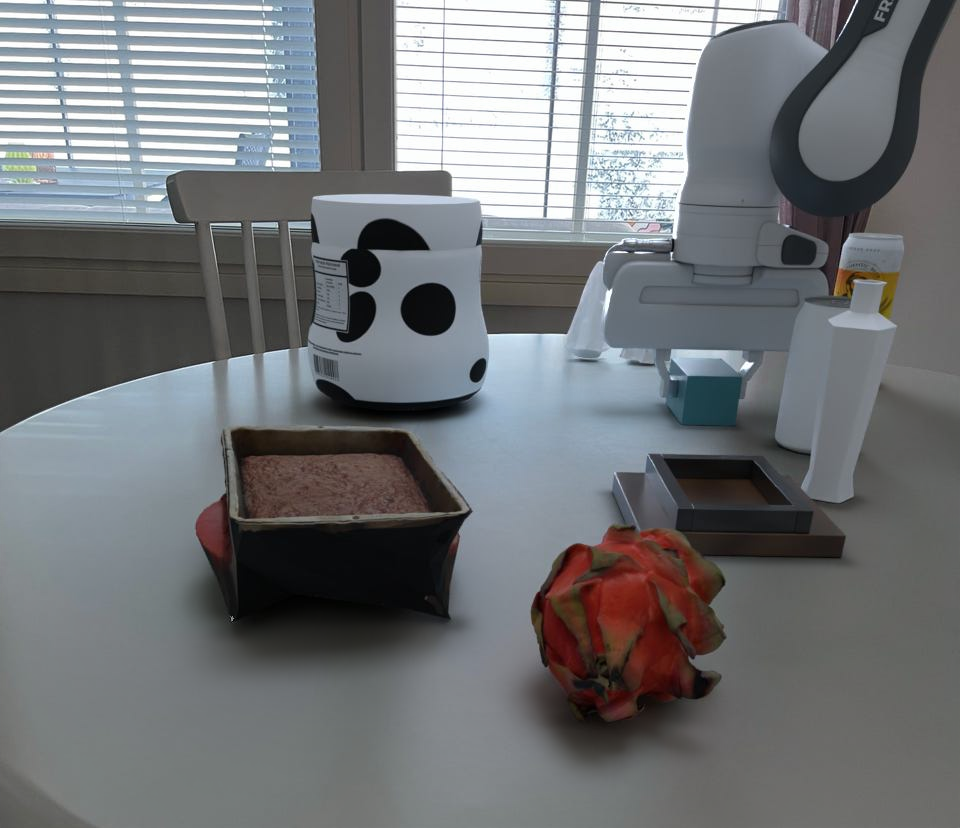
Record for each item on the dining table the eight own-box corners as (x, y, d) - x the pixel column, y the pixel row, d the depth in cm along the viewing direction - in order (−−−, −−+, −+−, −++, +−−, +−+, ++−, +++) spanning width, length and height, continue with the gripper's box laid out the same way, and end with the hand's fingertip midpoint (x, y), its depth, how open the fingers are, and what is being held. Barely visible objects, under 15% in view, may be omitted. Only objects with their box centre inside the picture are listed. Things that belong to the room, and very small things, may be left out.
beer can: (810, 381, 104) (838, 234, 97) (827, 372, 108) (854, 231, 101) (866, 389, 101) (899, 239, 94) (881, 380, 105) (913, 235, 98)
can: (769, 450, 80) (795, 302, 74) (777, 431, 85) (802, 292, 79) (849, 460, 78) (882, 309, 72) (852, 440, 83) (883, 298, 77)
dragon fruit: (658, 659, 50) (602, 816, 41) (537, 558, 49) (453, 696, 40) (775, 564, 45) (740, 721, 36) (640, 449, 44) (569, 580, 35)
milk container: (500, 385, 98) (506, 197, 90) (470, 429, 83) (473, 207, 75) (342, 376, 101) (333, 191, 92) (285, 416, 86) (268, 200, 77)
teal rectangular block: (715, 404, 94) (721, 358, 92) (735, 425, 87) (742, 376, 84) (665, 403, 94) (670, 357, 91) (681, 424, 86) (687, 375, 84)
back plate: (785, 494, 70) (792, 455, 68) (841, 557, 59) (851, 512, 58) (612, 491, 70) (615, 451, 68) (637, 554, 59) (642, 509, 58)
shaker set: (562, 362, 110) (568, 261, 105) (564, 355, 114) (570, 257, 108) (665, 367, 109) (677, 265, 103) (664, 360, 112) (675, 261, 107)
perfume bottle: (864, 507, 68) (914, 287, 61) (801, 502, 68) (844, 284, 61) (853, 486, 72) (899, 279, 65) (794, 482, 72) (833, 276, 65)
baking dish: (444, 555, 63) (429, 404, 60) (493, 643, 46) (476, 440, 43) (226, 582, 61) (198, 427, 58) (196, 683, 45) (155, 474, 41)
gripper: (610, 241, 80) (597, 403, 86) (847, 246, 80) (817, 407, 87) (601, 234, 85) (589, 387, 92) (823, 239, 86) (796, 391, 92)
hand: (701, 397), depth 89 cm, fingers closed on teal rectangular block, 5 cm apart
